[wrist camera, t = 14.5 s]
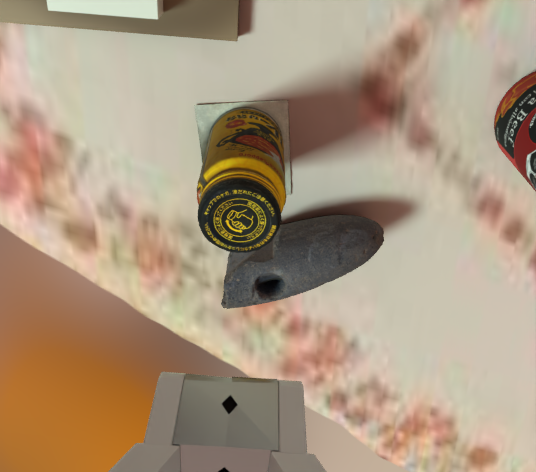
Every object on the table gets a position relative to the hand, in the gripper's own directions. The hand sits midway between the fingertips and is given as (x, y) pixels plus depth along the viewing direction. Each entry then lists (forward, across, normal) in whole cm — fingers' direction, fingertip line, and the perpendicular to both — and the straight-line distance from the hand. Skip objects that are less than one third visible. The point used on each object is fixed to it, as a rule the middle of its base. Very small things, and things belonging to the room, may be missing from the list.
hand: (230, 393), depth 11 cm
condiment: (+31, +1, +10) cm, 33 cm away
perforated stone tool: (+31, -5, +18) cm, 36 cm away
